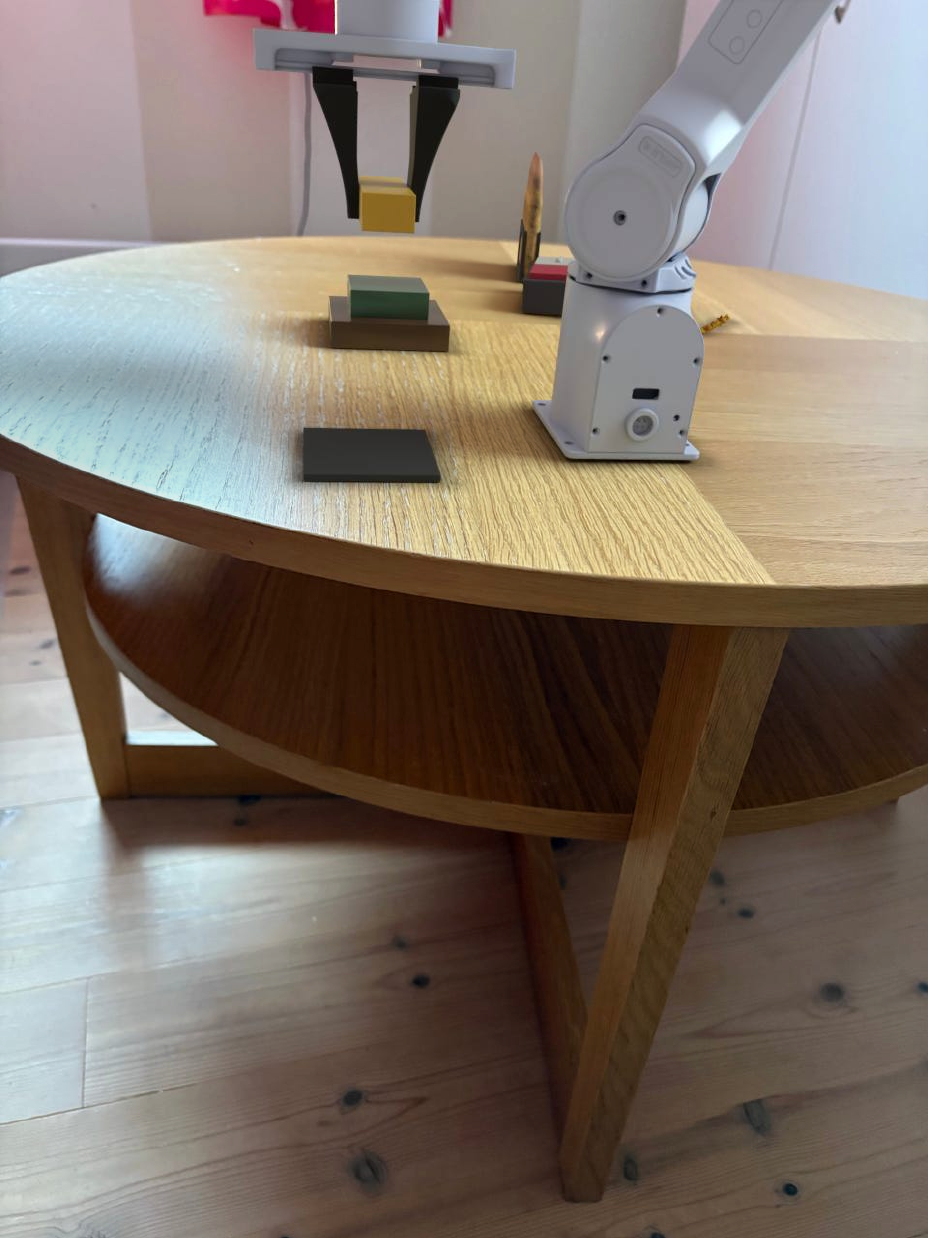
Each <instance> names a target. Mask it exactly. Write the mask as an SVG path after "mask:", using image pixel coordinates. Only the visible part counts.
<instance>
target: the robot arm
mask: <svg viewBox="0 0 928 1238" xmlns="http://www.w3.org/2000/svg"><path fill="white" fill-rule="evenodd" d="M841 2H842V0H719V1H718V2H717V4H716V5H715V7H714V8H713V10H712V12H711V13H710V15H709V17H707V19H706V21H705V23H704V24H703V26H702V28H701V29H700V30H699V32H698V34H697V36H696V37H695V39H694V40H693V42H692V43H691V45H690V46H689V48H688V49H687V51H686V53H685V54H684V56H683V58H682V59H681V61H680V62H679V64H678V65H677V67H676V69H674V72H673V73H672V74H671V75H670V76H669V78H668V79H666V81H665V82H664V83H663V84H662V85H661V87H660V88H658V89H657V90H656V92H655V93H654V94H653V95H652V96H650V98H649V99H648V100H647V101H646V103H645V104H644V105H643V106H642V107H641V108H640V109H639V110H638V112H637V113H636V115H635V116H634V117H633V119H632V121H631V122H630V124H629V125H628V127H627V129H626V130H625V131H624V132H623V134H622V136H621V137H620V138H619V139H618V140H617V141H616V142H615V143H614V144H612V146H610V147H609V148H608V149H606V150H605V151H602V152H601V153H600V154H598V155H596V156H594V157H593V158H591V159H590V160H589V161H588V162H587V163H586V164H585V165H583V167H582V168H581V169H580V170H579V172H577V174H576V175H575V176H574V179H573V180H572V182H571V183H570V186H569V188H568V190H567V193H566V195H565V200H564V204H563V211H562V229H563V235H564V239H565V241H566V244H567V247H568V249H569V251H570V253H571V254H572V256H573V258H575V259H576V260H575V261H572V262H570V263H569V264H568V270H567V271H568V274H567V279H566V287H565V295H564V303H563V312H562V315H561V320H560V328H559V336H558V337H559V338H558V345H557V352H556V353H557V354H556V361H555V370H554V376H553V377H554V378H553V385H552V394H551V395H552V396H551V399H534V400H532V403H531V408H532V409H533V411H534V412H535V414H536V415H537V417H538V418H539V420H540V421H541V423H542V425H543V426H544V427H545V429H546V430H547V431H548V433H549V435H550V436H551V437H552V439H553V440H554V443H556V445H557V446H558V448H559V449H560V451H561V452H562V454H563V455H564V456H565V457H566V458H568V459H572V460H638V461H639V460H640V461H641V460H642V461H647V460H649V461H650V460H651V461H696V460H698V459H699V458H700V451H699V450H698V449H697V448H696V447H695V446H694V445H693V444H692V443H691V442H690V441H689V440H688V438H689V432H690V427H691V423H692V418H693V414H694V413H693V412H694V408H695V403H696V398H697V393H698V390H699V389H698V388H699V385H700V379H701V375H702V371H703V365H704V361H705V342H704V336H703V334H702V333H701V330H700V329H701V328H700V326H699V324H698V322H697V320H696V319H695V318H694V317H693V314H692V307H691V306H692V300H693V295H694V290H695V288H694V286H695V285H696V279H697V272H696V271H695V270H694V269H693V268H694V267H693V266H692V264H691V261H690V257H689V256H688V255H687V254H686V251H688V250H689V249H690V248H691V247H692V246H693V245H694V244H695V243H696V242H697V241H698V240H699V238H700V237H701V235H702V234H703V232H704V230H705V229H706V227H707V224H708V222H709V219H710V216H711V211H712V206H713V200H714V196H715V193H716V191H717V188H718V185H719V184H720V182H721V180H722V178H723V177H724V175H725V174H726V172H727V171H728V170H729V168H730V167H731V165H732V164H733V162H734V161H735V159H736V158H737V156H738V154H739V152H740V150H741V148H742V147H743V144H744V142H745V140H746V138H747V137H748V134H749V133H750V131H751V129H752V127H754V124H756V122H757V120H758V119H759V118H760V116H761V115H762V113H763V112H764V110H765V109H766V107H767V106H769V105H768V104H769V103H770V102H771V100H772V99H773V98H774V96H775V95H776V94H777V92H778V91H779V89H780V88H781V86H782V85H783V84H784V82H785V81H786V79H787V78H788V76H789V75H790V74H791V73H792V71H793V69H794V68H795V67H796V65H797V64H798V62H799V61H800V60H801V59H802V57H803V56H804V54H805V53H806V51H807V50H808V48H809V47H810V45H811V44H812V43H813V42H814V40H815V39H816V37H817V36H818V35H819V32H820V31H821V30H822V29H823V28H824V26H825V24H826V23H827V22H828V20H829V19H830V17H831V16H832V15H833V13H834V12H835V10H836V9H837V8H838V6H839V5H840V3H841ZM439 12H440V0H334V15H335V16H334V30H335V32H334V33H325V32H313V31H312V32H311V31H298V30H297V31H295V30H283V29H269V28H258V27H257V28H256V27H254V28H253V29H252V35H253V36H252V38H253V57H254V59H253V60H254V70H256V71H257V70H258V71H267V72H268V71H269V72H270V71H271V72H287V73H300V74H301V73H302V74H311V76H312V89H313V91H314V94H315V97H316V98H317V101H318V103H319V106H320V109H321V111H322V114H323V116H324V120H325V122H326V125H327V128H328V131H329V133H330V137H331V140H332V143H333V146H334V149H335V154H336V156H337V160H338V164H339V168H340V172H341V176H342V183H343V187H344V193H345V202H346V203H345V204H346V216H347V219H349V220H359V181H358V175H359V169H358V119H359V118H358V112H359V111H358V106H359V92H358V81H357V80H354V78H362V79H363V78H365V79H375V80H376V79H377V80H390V81H404V82H413V83H414V82H415V85H414V84H413V85H411V86H412V87H411V93H409V140H408V141H409V142H408V143H409V147H408V148H409V149H408V167H407V177H406V184H407V186H408V187H409V188H410V189H411V190H412V192H413V193H414V194H415V195H416V206H415V223H420V219H421V218H420V217H421V210H422V205H423V200H424V195H425V191H426V187H427V183H428V179H429V177H430V173H431V170H432V167H433V164H434V161H435V158H436V155H437V152H438V150H439V148H440V146H441V143H442V141H443V138H444V135H445V133H446V131H447V129H448V126H449V124H450V122H451V120H452V119H453V116H454V114H455V112H456V110H457V107H458V105H459V102H460V99H461V89H460V88H459V86H466V87H468V86H469V87H479V88H490V89H499V90H514V83H515V71H516V59H517V51H516V49H503V48H494V47H482V46H473V45H463V44H462V45H461V44H453V43H443V42H438V41H439V40H438V37H439V17H440V13H439ZM355 56H358V57H369V58H381V59H393V60H403V61H404V60H405V61H406V60H407V61H416V63H417V66H416V67H417V69H422V70H423V69H424V70H434V71H435V70H436V71H437V73H436V72H425V71H424V72H423V71H411V70H399V69H387V68H386V69H385V68H374V67H362V66H361V67H360V66H348V65H337V64H335V65H334V62H336V63H349V64H350V63H354V62H355Z"/></svg>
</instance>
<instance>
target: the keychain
mask: <svg viewBox="0 0 928 1238" xmlns="http://www.w3.org/2000/svg"><path fill="white" fill-rule="evenodd" d="M729 320H731V318H730V317H729V315H728V314H727V313H726V314H725V315H724V316H723V315H722V314H721V315H720V317H717V318H716V320H715V321H711V322H710V323H709V324H708V323H707V324H706V325H705V326H703V327H701V328H700V330H701V333H702V335H705V334H706V333H708V332H709V331H712V330H713V329H715V328H717V327H719V326H720V325H723V323H727V321H729Z"/></svg>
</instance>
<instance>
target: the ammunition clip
mask: <svg viewBox="0 0 928 1238" xmlns="http://www.w3.org/2000/svg"><path fill="white" fill-rule="evenodd" d="M543 185H544V166H543V161H542V157H541V156H540V155H539V153H538V152H537V151H535V152H534V154H533V155H532V158H531V162H530V166H529V170H528V177H527V183H526V189H525V193H524V197H523V199H524V200H523V208H522V218H521V219H520V227H519V237H518V247H517V257H516V273H517V280H518V281H517V282H518V283H519V284H523V280H524V278H525V276H526V274H527V273H528V271H529V269H530V267H531V266H532V264H533V262H535V261H536V260H537V258H538V257H539V256H540V247H541V239H542V232H541V231H542V230H541V225H542V217H543V216H542V215H543V207H544V206H543V191H544V190H543V189H544V188H543Z"/></svg>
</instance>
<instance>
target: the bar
mask: <svg viewBox="0 0 928 1238" xmlns="http://www.w3.org/2000/svg"><path fill="white" fill-rule="evenodd" d="M358 181H359V219H358V222H359V226H360V229H361V231H362V232H375V233H395V234H396V233H397V234H411V235H412V234H415V232H416V222H415V206H416V195H415V194H414V193H413V192H412V190H411V189H410V188H409V187H408V186H407V182H406V181H405V180H404V179H403V178H402V177H393V176H377V175H362V174H361V175H359V174H358Z"/></svg>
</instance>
